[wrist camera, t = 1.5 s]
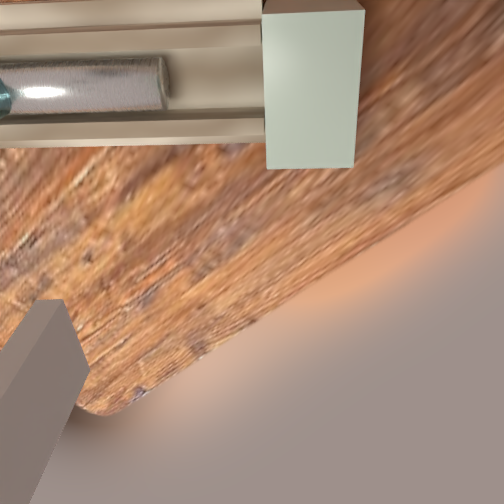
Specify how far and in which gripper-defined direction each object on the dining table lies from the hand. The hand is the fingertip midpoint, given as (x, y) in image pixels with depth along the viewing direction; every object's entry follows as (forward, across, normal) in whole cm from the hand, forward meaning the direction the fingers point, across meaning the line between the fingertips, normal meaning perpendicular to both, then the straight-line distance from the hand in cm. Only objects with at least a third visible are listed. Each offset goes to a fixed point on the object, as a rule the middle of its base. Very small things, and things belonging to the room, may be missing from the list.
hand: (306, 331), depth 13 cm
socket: (+26, +1, +1) cm, 26 cm away
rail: (+26, -16, +2) cm, 31 cm away
